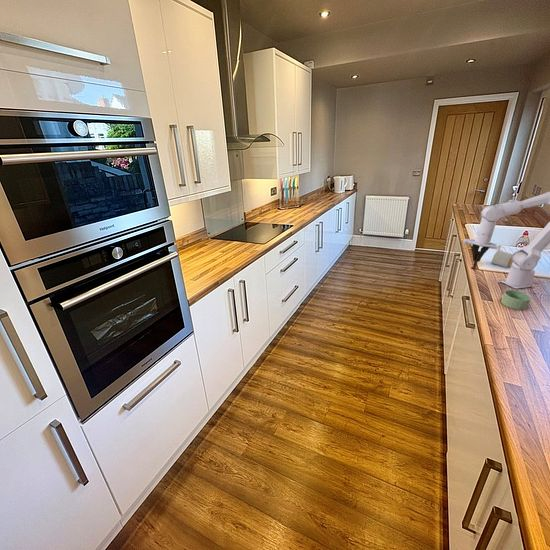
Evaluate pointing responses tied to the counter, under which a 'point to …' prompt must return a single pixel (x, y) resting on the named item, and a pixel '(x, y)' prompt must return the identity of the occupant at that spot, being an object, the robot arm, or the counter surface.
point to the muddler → (475, 261)
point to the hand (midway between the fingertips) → (476, 260)
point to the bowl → (515, 299)
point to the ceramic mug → (502, 259)
